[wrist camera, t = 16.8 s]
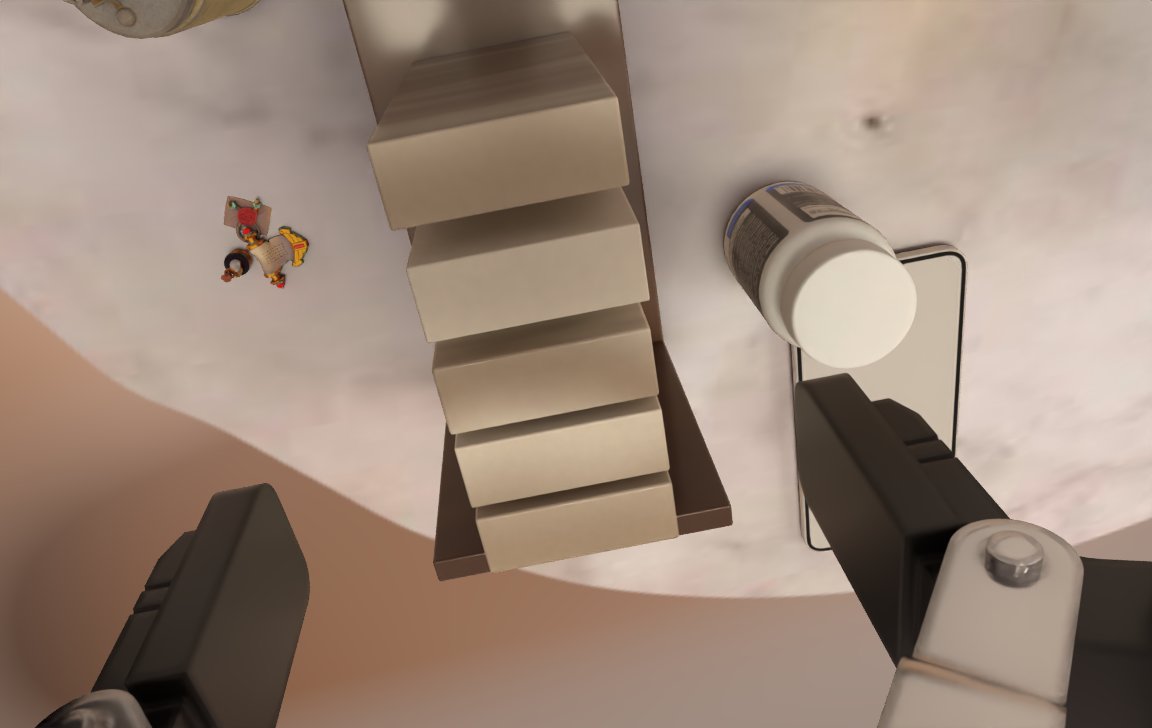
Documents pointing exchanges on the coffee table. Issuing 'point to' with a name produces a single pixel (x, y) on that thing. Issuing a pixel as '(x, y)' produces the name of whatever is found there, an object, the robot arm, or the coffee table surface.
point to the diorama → (260, 241)
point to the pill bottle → (820, 275)
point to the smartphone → (911, 358)
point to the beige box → (527, 264)
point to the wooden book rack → (547, 348)
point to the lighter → (157, 14)
